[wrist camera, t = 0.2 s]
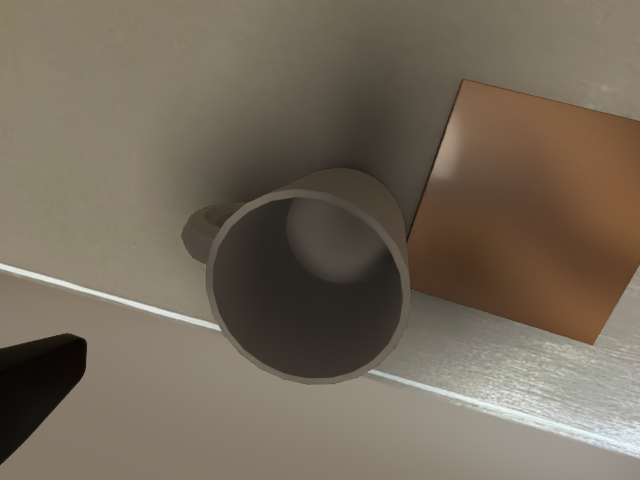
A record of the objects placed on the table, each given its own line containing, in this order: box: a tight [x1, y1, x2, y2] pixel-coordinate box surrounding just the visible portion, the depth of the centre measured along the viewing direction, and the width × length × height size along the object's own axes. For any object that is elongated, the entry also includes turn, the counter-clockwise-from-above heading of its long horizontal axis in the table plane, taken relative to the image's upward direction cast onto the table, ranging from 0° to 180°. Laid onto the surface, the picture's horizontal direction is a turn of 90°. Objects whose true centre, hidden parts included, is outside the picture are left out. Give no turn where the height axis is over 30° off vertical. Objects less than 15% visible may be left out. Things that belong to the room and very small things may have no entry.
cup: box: [181, 167, 412, 384], centre depth 17 cm, size 7×10×9 cm
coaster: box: [406, 79, 640, 345], centre depth 19 cm, size 11×11×1 cm
